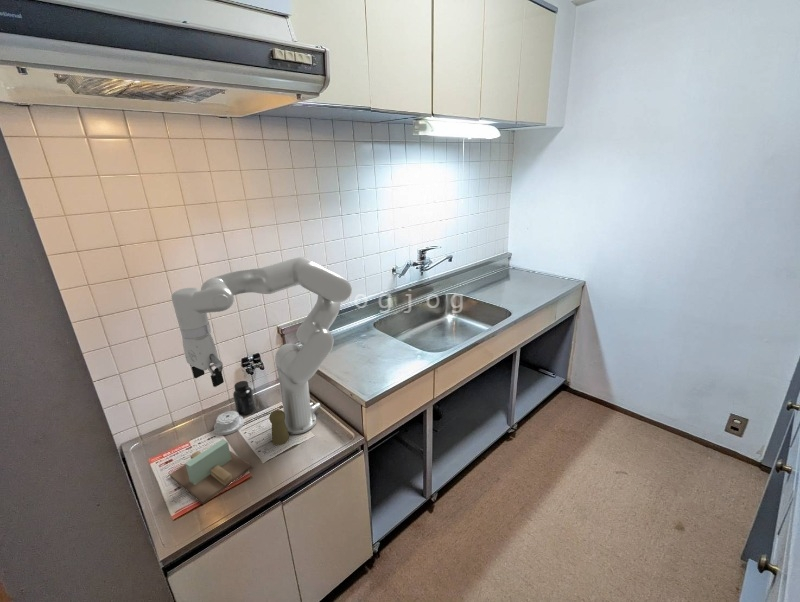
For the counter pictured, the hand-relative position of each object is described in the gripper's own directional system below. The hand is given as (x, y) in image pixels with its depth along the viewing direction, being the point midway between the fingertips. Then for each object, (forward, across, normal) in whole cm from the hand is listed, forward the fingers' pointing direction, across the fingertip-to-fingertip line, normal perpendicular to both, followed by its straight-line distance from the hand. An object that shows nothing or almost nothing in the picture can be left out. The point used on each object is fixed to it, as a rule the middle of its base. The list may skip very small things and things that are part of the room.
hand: (209, 380), depth 114 cm
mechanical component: (+28, -10, +8) cm, 31 cm away
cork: (+28, +11, +13) cm, 33 cm away
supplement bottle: (+28, -13, +17) cm, 35 cm away
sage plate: (+26, +4, -8) cm, 28 cm away
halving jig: (+27, +4, -8) cm, 29 cm away
